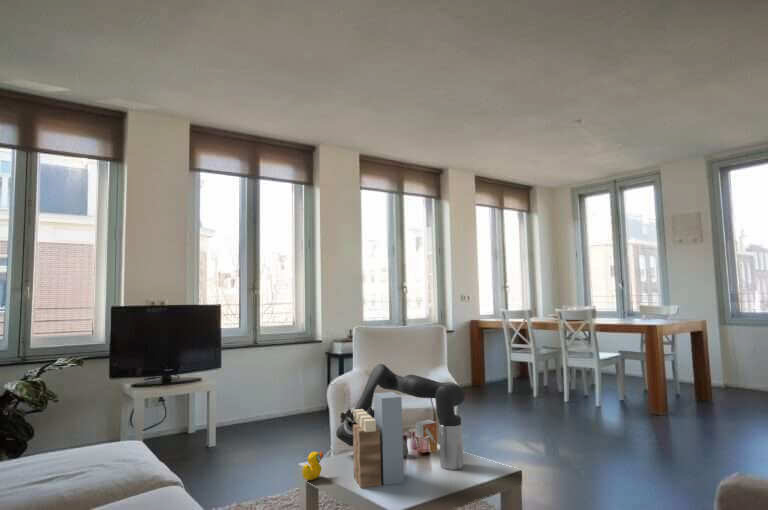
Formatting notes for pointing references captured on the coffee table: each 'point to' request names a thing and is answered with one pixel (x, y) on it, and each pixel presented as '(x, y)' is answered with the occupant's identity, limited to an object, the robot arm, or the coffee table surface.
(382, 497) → the coffee table surface
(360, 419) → the beam
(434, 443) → the small box
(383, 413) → the tall tower
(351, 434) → the robot arm
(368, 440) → the brown wooden block
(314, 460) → the duckling
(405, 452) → the mineral specimen
